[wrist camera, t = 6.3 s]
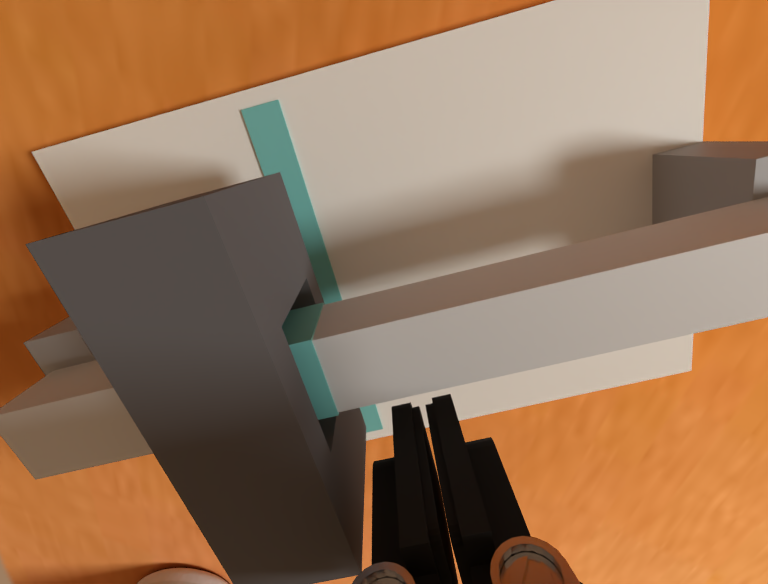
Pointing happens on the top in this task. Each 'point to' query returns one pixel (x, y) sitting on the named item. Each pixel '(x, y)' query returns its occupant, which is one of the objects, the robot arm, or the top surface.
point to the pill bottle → (182, 577)
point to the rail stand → (451, 219)
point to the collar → (221, 373)
